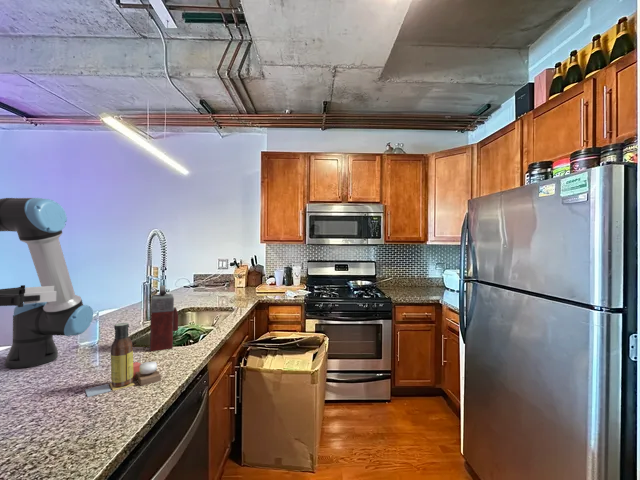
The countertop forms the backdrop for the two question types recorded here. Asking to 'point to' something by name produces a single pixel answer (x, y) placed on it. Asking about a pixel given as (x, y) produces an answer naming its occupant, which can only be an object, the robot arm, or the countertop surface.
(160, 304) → the dark red rectangular canister
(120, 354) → the sauce bottle
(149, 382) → the brown flat block
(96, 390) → the square
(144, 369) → the dome
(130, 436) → the countertop surface
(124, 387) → the square
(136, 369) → the die
